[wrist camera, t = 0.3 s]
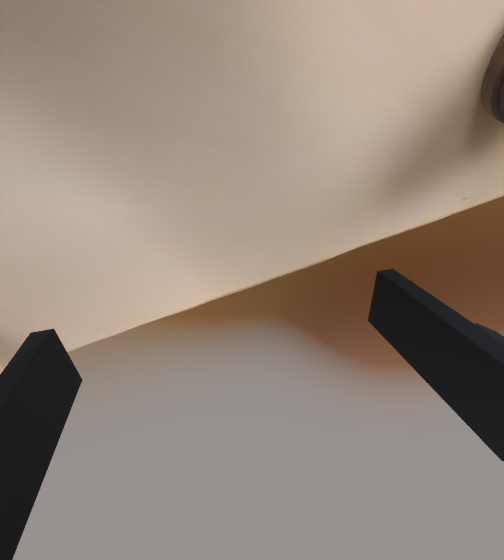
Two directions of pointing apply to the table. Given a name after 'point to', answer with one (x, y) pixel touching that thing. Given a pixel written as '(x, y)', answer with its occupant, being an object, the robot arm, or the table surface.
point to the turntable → (495, 84)
